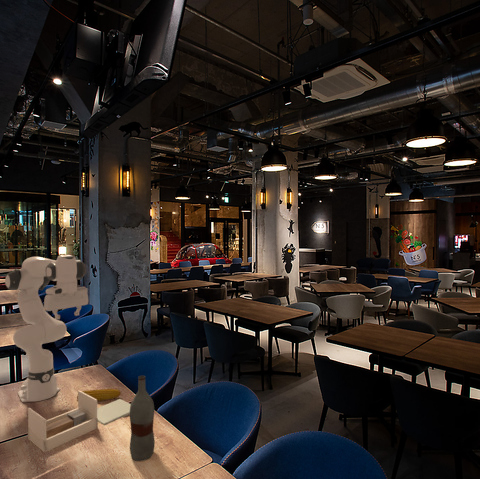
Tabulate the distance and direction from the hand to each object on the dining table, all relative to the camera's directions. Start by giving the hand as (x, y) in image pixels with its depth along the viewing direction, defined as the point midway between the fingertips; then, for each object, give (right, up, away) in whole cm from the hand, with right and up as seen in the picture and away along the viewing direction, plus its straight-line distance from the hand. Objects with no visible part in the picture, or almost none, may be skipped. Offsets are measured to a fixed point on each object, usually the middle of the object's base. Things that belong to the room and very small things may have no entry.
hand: (67, 317), depth 164 cm
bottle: (+46, -46, -33) cm, 72 cm away
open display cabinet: (+8, -46, -18) cm, 50 cm away
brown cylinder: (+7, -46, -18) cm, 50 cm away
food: (+9, -47, +14) cm, 50 cm away
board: (+22, -46, 0) cm, 51 cm away
